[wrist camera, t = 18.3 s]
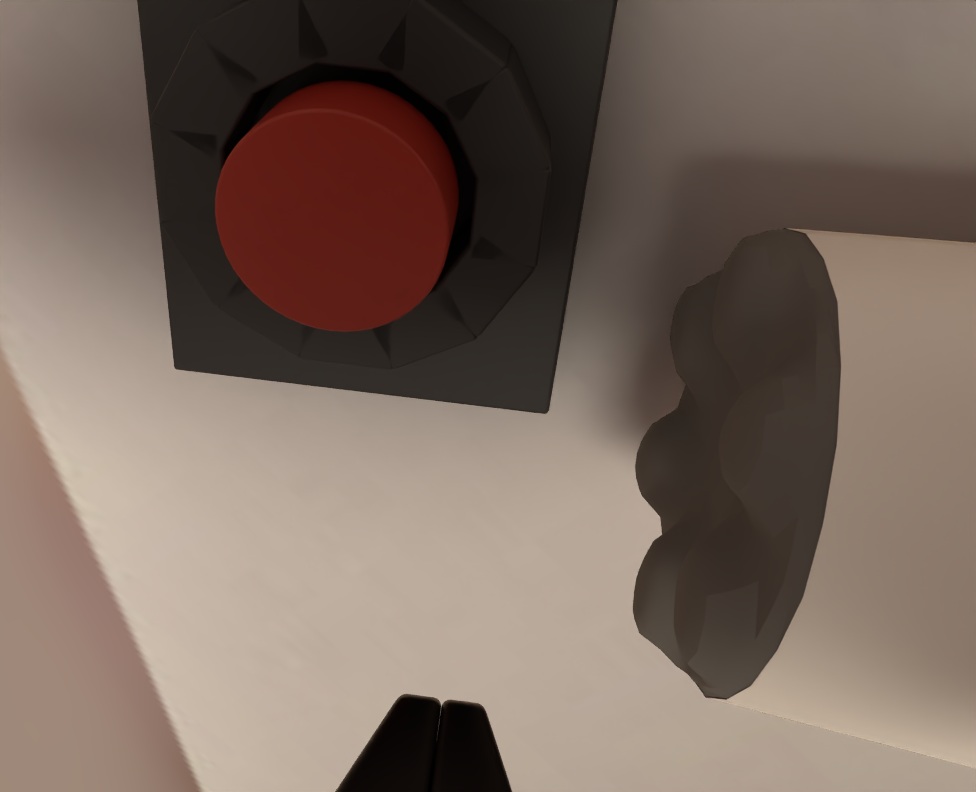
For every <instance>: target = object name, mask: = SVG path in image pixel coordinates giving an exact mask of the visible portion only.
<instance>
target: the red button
mask: <svg viewBox="0 0 976 792" xmlns="http://www.w3.org/2000/svg"><path fill="white" fill-rule="evenodd" d="M458 206H459V186H458V177H457V173H456V169H455V165H454V162H453V159H452V156H451V154H450V151H449V149H448V147H447V145H446V144H445V142H444V140H443V138H442V136H441V135H440V134H439V132H438V131H437V129H436V128H435V127H434V125H433V124H432V123H431V122H430V121H429V120H428V119H427V118H426V117H425V115H424V114H423V113H421V112H420V111H419V110H418V109H417V108H415V107H414V106H413V105H412V104H411V103H409V102H408V101H406V100H404V99H403V98H401V97H400V96H398V95H396V94H394V93H392V92H390V91H388V90H386V89H384V88H381V87H377V86H374V85H371V84H367V83H362V82H357V81H344V80H337V81H325V82H321V83H316V84H312V85H309V86H306V87H304V88H301V89H299V90H297V91H295V92H293V93H291V94H290V95H288V96H286V97H285V98H284V99H282V100H281V101H280V102H278V103H277V104H276V105H275V106H274V107H273V108H272V109H271V110H270V111H269V112H268V113H267V114H266V115H265V116H264V117H263V118H262V119H261V120H260V121H259V122H258V123H257V124H256V125H255V126H254V127H253V128H252V129H251V130H250V131H249V132H248V133H247V134H246V135H245V136H244V137H243V138H242V139H241V140H240V141H239V142H238V143H237V144H236V146H235V147H234V149H233V150H232V152H231V153H230V155H229V156H228V158H227V160H226V162H225V164H224V166H223V168H222V170H221V173H220V177H219V180H218V183H217V189H216V196H215V216H216V224H217V230H218V233H219V237H220V241H221V244H222V246H223V249H224V251H225V254H226V256H227V258H228V260H229V262H230V264H231V265H232V267H233V269H234V270H235V272H236V273H237V275H238V276H239V277H240V279H241V280H242V282H243V283H244V284H245V285H246V286H247V287H248V288H249V289H250V290H251V292H252V293H253V294H255V295H256V296H257V297H258V298H259V299H260V300H261V301H262V302H264V303H265V304H266V305H268V306H269V307H271V308H272V309H273V310H275V311H276V312H278V313H280V314H282V315H284V316H285V317H287V318H289V319H291V320H294V321H296V322H299V323H301V324H304V325H307V326H310V327H314V328H318V329H323V330H329V331H341V332H349V331H361V330H367V329H373V328H376V327H379V326H382V325H386V324H388V323H390V322H392V321H394V320H397V319H399V318H400V317H402V316H404V315H405V314H407V313H408V312H410V311H411V310H412V309H414V308H415V307H416V306H417V305H418V304H420V303H421V302H422V300H423V299H424V298H425V297H426V296H427V295H428V294H429V293H430V291H431V290H432V288H433V287H434V285H435V284H436V282H437V280H438V278H439V276H440V274H441V272H442V270H443V267H444V264H445V261H446V257H447V254H448V250H449V246H450V242H451V238H452V234H453V230H454V226H455V222H456V218H457V212H458Z"/></svg>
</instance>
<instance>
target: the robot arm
mask: <svg viewBox="0 0 976 792" xmlns="http://www.w3.org/2000/svg"><path fill="white" fill-rule="evenodd" d="M440 711H441V714H440ZM439 719H440V721H439ZM438 726H439V728H438ZM437 734H438V735H437ZM335 792H512V790H511V787H510V784H509V781H508V778H507V775H506V771H505V768H504V765H503V762H502V759H501V756H500V753H499V750H498V747H497V744H496V740H495V737H494V734H493V731H492V728H491V725H490V722H489V719H488V716H487V713H486V711H485V709H484V707H483V706H482V705H480V704H478V703H472V702H464V701H457V700H447V701H445V702H444V703H443V704H442V707H441V703H440V701H439V700H438V699H436V698H434V697H426V696H419V695H411V694H404V695H401V696H400V697H399V698H398V699H397V700H396V701H395V703H394V704H393V706H392V707H391V709H390V710H389V712H388V713H387V715H386V716H385V718H384V719H383V721H382V722H381V724H380V725H379V727H378V728H377V730H376V731H375V733H374V734H373V736H372V737H371V739H370V740H369V742H368V743H367V745H366V746H365V748H364V749H363V751H362V752H361V754H360V755H359V757H358V758H357V760H356V761H355V763H354V764H353V766H352V767H351V769H350V770H349V772H348V773H347V775H346V776H345V778H344V779H343V781H342V782H341V784H340V785H339V787H338V788H337V790H336V791H335Z"/></svg>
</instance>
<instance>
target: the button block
mask: <svg viewBox="0 0 976 792" xmlns="http://www.w3.org/2000/svg"><path fill="white" fill-rule="evenodd" d="M137 2H138V11H139V21H140V31H141V41H142V51H143V61H144V71H145V81H146V91H147V101H148V110H149V120H150V130H151V140H152V150H153V160H154V170H155V180H156V190H157V200H158V210H159V219H160V229H161V239H162V249H163V259H164V269H165V279H166V289H167V299H168V309H169V319H170V328H171V338H172V348H173V358H174V367H175V369H178V370H186V371H194V372H203V373H211V374H219V375H227V376H236V377H244V378H252V379H261V380H269V381H277V382H286V383H294V384H302V385H310V386H319V387H327V388H335V389H344V390H352V391H360V392H368V393H377V394H385V395H393V396H402V397H410V398H418V399H426V400H435V401H443V402H451V403H460V404H468V405H476V406H485V407H493V408H501V409H509V410H518V411H526V412H534V413H543V414H546V413H547V412H548V411H549V406H550V401H551V395H552V389H553V383H554V377H555V371H556V365H557V359H558V353H559V347H560V341H561V335H562V329H563V323H564V317H565V311H566V305H567V299H568V293H569V287H570V281H571V275H572V269H573V263H574V257H575V251H576V245H577V239H578V233H579V227H580V221H581V215H582V209H583V203H584V197H585V191H586V185H587V179H588V173H589V168H590V162H591V156H592V150H593V144H594V138H595V132H596V126H597V120H598V114H599V108H600V102H601V96H602V90H603V84H604V78H605V72H606V66H607V60H608V54H609V48H610V42H611V36H612V30H613V24H614V18H615V12H616V6H617V0H137ZM337 80H344V81H357V82H362V83H367V84H371V85H374V86H377V87H381V88H384V89H386V90H388V91H390V92H392V93H394V94H396V95H398V96H400V97H401V98H403V99H404V100H406V101H408V102H409V103H411V104H412V105H413V106H414V107H415V108H417V109H418V110H419V111H420V112H421V113H423V114H424V115H425V117H426V118H427V119H428V120H429V121H430V122H431V123H432V124H433V125H434V127H435V128H436V129H437V131H438V132H439V134H440V135H441V136H442V138H443V140H444V142H445V144H446V145H447V147H448V149H449V151H450V154H451V156H452V159H453V162H454V165H455V169H456V173H457V177H458V186H459V206H458V212H457V218H456V222H455V226H454V230H453V234H452V238H451V242H450V246H449V250H448V254H447V257H446V261H445V264H444V267H443V270H442V272H441V274H440V276H439V278H438V280H437V282H436V284H435V285H434V287H433V288H432V290H431V291H430V293H429V294H428V295H427V296H426V297H425V298H424V299H423V300H422V302H421V303H420V304H418V305H417V306H416V307H415V308H414V309H412V310H411V311H410V312H408V313H407V314H405V315H404V316H402V317H400V318H399V319H397V320H394V321H392V322H390V323H388V324H386V325H382V326H379V327H376V328H373V329H367V330H361V331H349V332H341V331H329V330H323V329H318V328H314V327H310V326H307V325H304V324H301V323H299V322H296V321H294V320H291V319H289V318H287V317H285V316H284V315H282V314H280V313H278V312H276V311H275V310H273V309H272V308H271V307H269V306H268V305H266V304H265V303H264V302H262V301H261V300H260V299H259V298H258V297H257V296H256V295H255V294H253V293H252V292H251V290H250V289H249V288H248V287H247V286H246V285H245V284H244V283H243V282H242V280H241V279H240V277H239V276H238V275H237V273H236V272H235V270H234V269H233V267H232V265H231V264H230V262H229V260H228V258H227V256H226V254H225V251H224V249H223V246H222V244H221V241H220V237H219V233H218V230H217V224H216V216H215V196H216V189H217V183H218V180H219V177H220V173H221V170H222V168H223V166H224V164H225V162H226V160H227V158H228V156H229V155H230V153H231V152H232V150H233V149H234V147H235V146H236V144H237V143H238V142H239V141H240V140H241V139H242V138H243V137H244V136H245V135H246V134H247V133H248V132H249V131H250V130H251V129H252V128H253V127H254V126H255V125H256V124H257V123H258V122H259V121H260V120H261V119H262V118H263V117H264V116H265V115H266V114H267V113H268V112H269V111H270V110H271V109H272V108H273V107H274V106H275V105H276V104H277V103H278V102H280V101H281V100H282V99H284V98H285V97H286V96H288V95H290V94H291V93H293V92H295V91H297V90H299V89H301V88H304V87H306V86H309V85H312V84H316V83H321V82H325V81H337Z"/></svg>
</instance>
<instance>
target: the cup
mask: <svg viewBox="0 0 976 792" xmlns="http://www.w3.org/2000/svg"><path fill="white" fill-rule="evenodd" d="M670 341H671V349H672V354H673V359H674V364H675V367H676V371H677V373H678V375H679V376H680V377H681V378H682V380H683V381H684V382H685V384H686V386H685V389H684V391H683V394H682V397H681V399H680V402H679V405H678V407H677V409H676V410H674V411H673V412H671V413H670V414H668V415H666V416H665V417H663V418H661V419H660V420H658V421H656V422H655V423H653V424H652V425H651V426H650V428H649V429H648V431H647V432H646V434H645V435H644V437H643V439H642V441H641V443H640V446H639V449H638V452H637V458H636V465H635V469H636V479H637V482H638V486H639V490H640V492H641V495H642V496H643V497H644V499H645V500H646V501H647V502H648V503H649V504H650V506H651V507H652V508H653V509H654V510H655V511H656V512H657V513H658V515H659V516H660V518H661V527H662V535H661V536H660V537H659V538H657V539H656V540H654V541H653V543H652V545H651V547H650V548H649V550H648V552H647V554H646V555H645V557H644V560H643V562H642V564H641V567H640V569H639V572H638V575H637V578H636V584H635V590H634V601H633V614H634V619H635V622H636V625H637V628H638V631H639V633H640V634H641V635H643V636H644V637H645V638H646V639H648V640H649V641H650V642H652V643H653V644H654V645H655V646H657V647H658V648H659V649H661V651H662V652H663V653H664V654H665V655H666V656H667V657H668V658H669V659H670V660H671V661H672V662H673V663H674V664H675V665H676V666H677V667H678V668H680V669H681V670H683V671H684V672H686V673H687V674H688V675H689V676H690V677H691V679H692V680H693V681H694V682H695V683H696V684H697V686H698V687H699V689H700V690H701V691H702V693H703V694H704V696H705V697H706V698H710V699H714V700H717V701H721V702H725V703H729V704H732V705H736V706H740V707H744V708H747V709H751V710H755V711H759V712H762V713H766V714H770V715H774V716H777V717H781V718H785V719H789V720H793V721H797V722H800V723H804V724H808V725H812V726H816V727H819V728H823V729H827V730H831V731H835V732H838V733H842V734H846V735H850V736H854V737H857V738H861V739H865V740H869V741H873V742H877V743H880V744H884V745H888V746H892V747H896V748H899V749H903V750H907V751H911V752H915V753H918V754H922V755H926V756H930V757H934V758H938V759H941V760H945V761H949V762H953V763H957V764H960V765H964V766H968V767H972V768H976V243H971V242H958V241H946V240H933V239H920V238H908V237H895V236H882V235H870V234H857V233H843V232H830V231H817V230H803V229H790V228H784V229H782V230H781V229H778V230H771V231H766V232H763V233H760V234H757V235H753V236H750V237H746V238H743V239H742V240H741V242H740V243H739V244H738V246H737V247H736V248H735V250H734V251H733V252H732V254H731V255H730V257H729V258H728V260H727V261H726V263H725V265H724V267H723V269H722V270H721V271H719V272H717V273H715V274H712V275H710V276H707V277H706V278H704V279H703V280H702V281H700V282H699V283H697V284H696V285H693V286H690V287H687V288H686V290H685V291H684V293H683V294H682V295H681V297H680V298H679V300H678V302H677V304H676V307H675V310H674V315H673V320H672V326H671V334H670Z"/></svg>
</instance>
